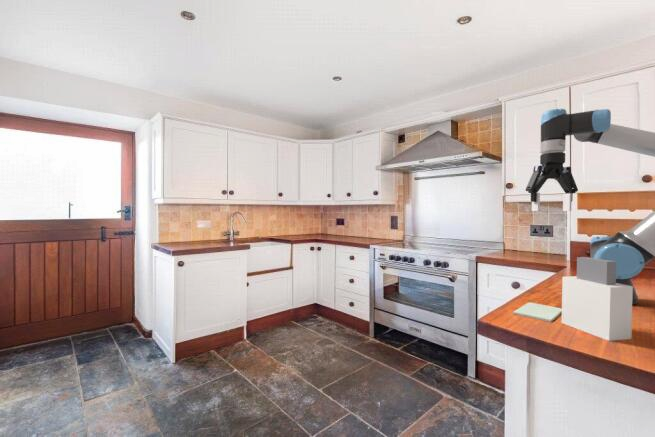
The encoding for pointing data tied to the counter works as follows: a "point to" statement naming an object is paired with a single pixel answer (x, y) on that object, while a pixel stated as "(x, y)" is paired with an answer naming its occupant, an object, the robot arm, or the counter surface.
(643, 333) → the counter surface
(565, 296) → the off-white upright block
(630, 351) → the counter surface
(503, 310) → the counter surface
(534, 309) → the mat
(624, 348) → the counter surface
